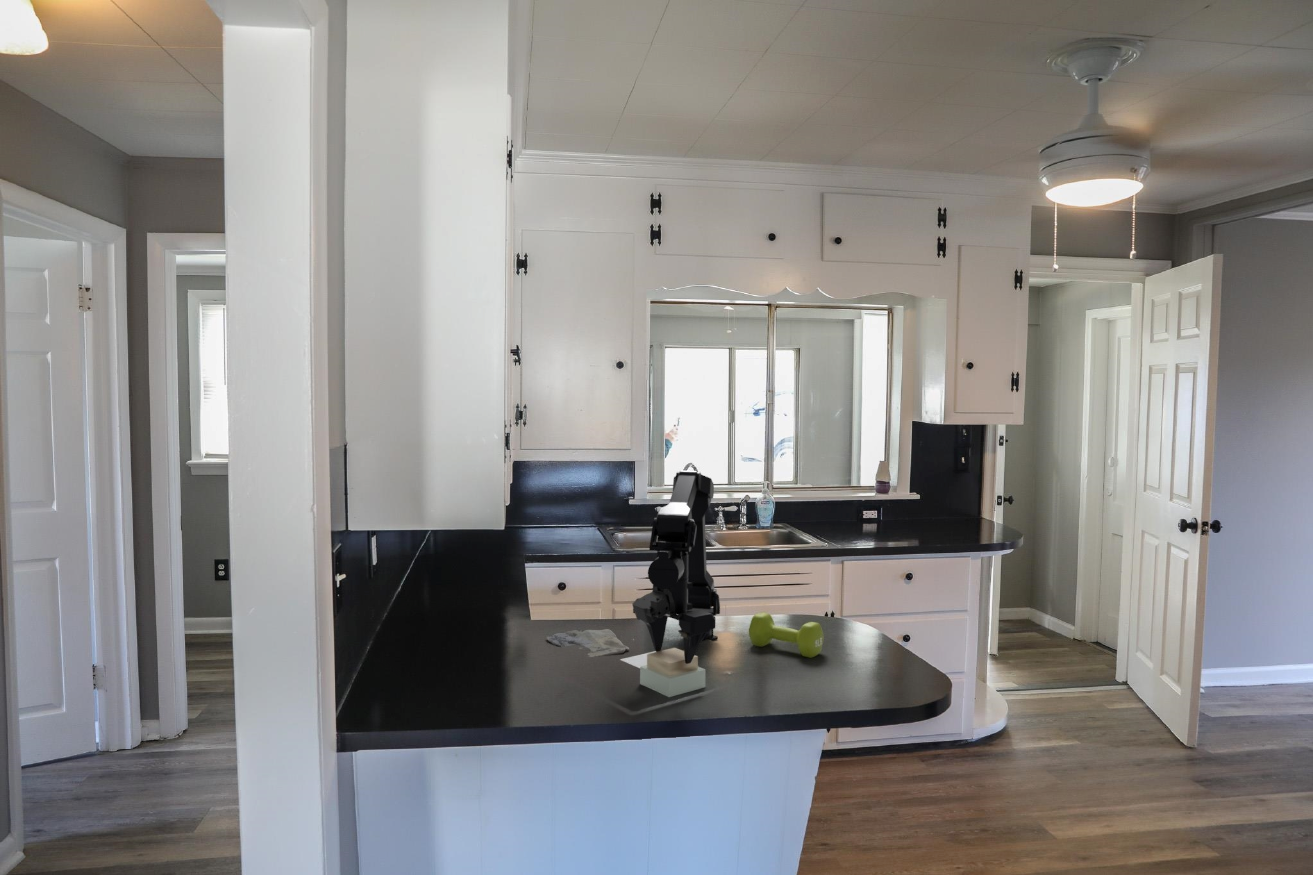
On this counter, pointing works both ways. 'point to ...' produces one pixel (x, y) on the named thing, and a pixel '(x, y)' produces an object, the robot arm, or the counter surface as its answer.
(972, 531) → the counter surface
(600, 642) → the crumpled grey cloth
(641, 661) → the mat
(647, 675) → the dish
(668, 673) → the lid
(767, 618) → the dumbbell
